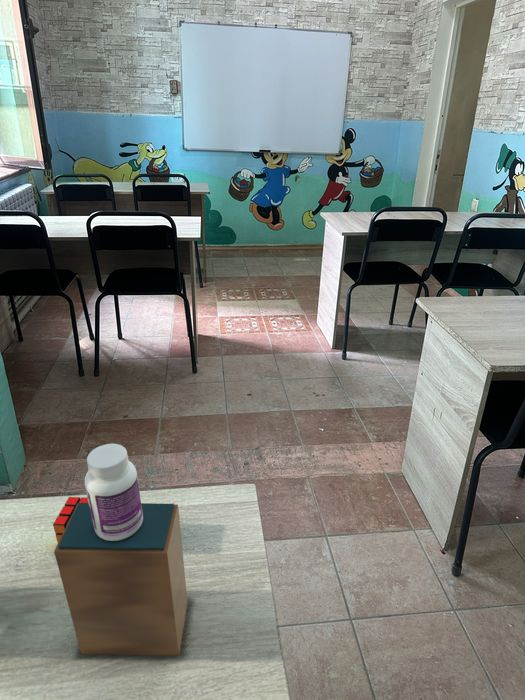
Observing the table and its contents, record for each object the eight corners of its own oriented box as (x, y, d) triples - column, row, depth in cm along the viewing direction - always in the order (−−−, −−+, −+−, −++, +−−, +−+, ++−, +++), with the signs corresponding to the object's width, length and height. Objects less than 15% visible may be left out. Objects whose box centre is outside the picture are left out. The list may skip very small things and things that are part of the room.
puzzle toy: (96, 554, 72) (90, 526, 69) (59, 552, 72) (52, 524, 70) (109, 525, 77) (104, 498, 75) (75, 523, 77) (69, 496, 75)
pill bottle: (153, 515, 55) (144, 447, 50) (122, 549, 50) (110, 478, 46) (116, 500, 57) (104, 434, 52) (83, 532, 52) (68, 462, 48)
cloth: (58, 549, 51) (57, 546, 51) (79, 504, 57) (79, 502, 56) (163, 550, 51) (163, 547, 51) (174, 506, 57) (174, 503, 56)
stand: (81, 655, 59) (53, 551, 51) (99, 603, 65) (77, 503, 57) (179, 656, 59) (167, 552, 51) (187, 604, 65) (178, 504, 57)
